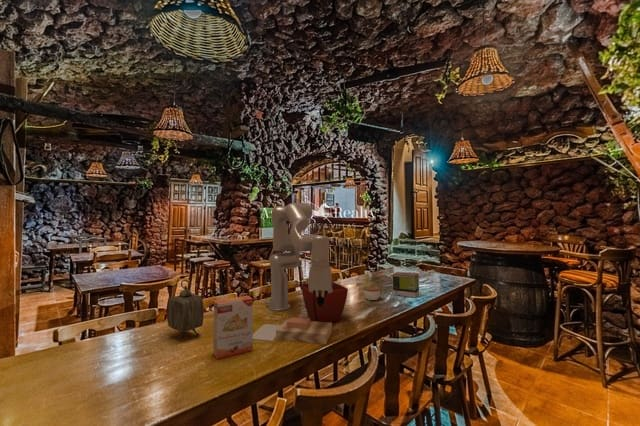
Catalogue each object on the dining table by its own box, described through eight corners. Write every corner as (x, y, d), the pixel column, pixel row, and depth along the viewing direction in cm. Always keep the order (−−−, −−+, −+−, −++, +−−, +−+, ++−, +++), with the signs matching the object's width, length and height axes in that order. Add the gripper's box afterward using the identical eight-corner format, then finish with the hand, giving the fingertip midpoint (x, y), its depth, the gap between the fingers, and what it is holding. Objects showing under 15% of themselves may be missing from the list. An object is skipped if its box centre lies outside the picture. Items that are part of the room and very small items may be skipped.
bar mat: (248, 339, 129) (248, 338, 129) (264, 324, 147) (264, 323, 147) (272, 341, 127) (272, 340, 127) (285, 326, 145) (285, 325, 145)
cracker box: (216, 360, 110) (217, 303, 110) (213, 354, 115) (213, 299, 116) (253, 351, 118) (253, 298, 118) (248, 345, 123) (248, 294, 123)
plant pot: (332, 311, 167) (332, 281, 168) (348, 322, 150) (348, 288, 150) (300, 315, 160) (300, 284, 160) (313, 327, 142) (313, 292, 143)
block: (286, 327, 132) (286, 321, 132) (290, 322, 138) (290, 317, 138) (306, 329, 130) (306, 323, 130) (309, 324, 136) (309, 318, 136)
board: (276, 339, 129) (276, 330, 129) (286, 327, 142) (286, 319, 142) (326, 344, 124) (326, 334, 124) (331, 331, 138) (331, 322, 138)
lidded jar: (362, 301, 187) (362, 286, 187) (364, 297, 197) (364, 282, 197) (379, 302, 183) (379, 287, 184) (381, 298, 194) (381, 283, 194)
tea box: (419, 295, 201) (419, 273, 202) (415, 298, 193) (415, 275, 193) (397, 292, 209) (397, 271, 210) (392, 295, 201) (392, 273, 201)
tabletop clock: (203, 336, 132) (203, 280, 132) (184, 343, 125) (184, 283, 125) (184, 329, 140) (185, 276, 141) (165, 336, 133) (166, 279, 133)
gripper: (301, 264, 130) (302, 307, 129) (335, 265, 127) (336, 308, 126) (306, 262, 137) (306, 302, 137) (338, 262, 134) (338, 304, 134)
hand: (320, 305), depth 131 cm, fingers closed
